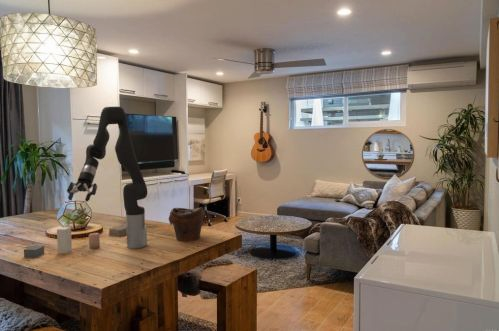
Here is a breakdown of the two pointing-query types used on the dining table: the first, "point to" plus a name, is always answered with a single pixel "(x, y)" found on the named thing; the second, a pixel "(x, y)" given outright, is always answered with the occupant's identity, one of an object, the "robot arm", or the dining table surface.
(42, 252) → the grey squat block
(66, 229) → the tall cream block
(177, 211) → the dark brown pot
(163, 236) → the dining table surface
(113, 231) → the brick
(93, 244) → the pink rounded pebble
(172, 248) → the dining table surface
